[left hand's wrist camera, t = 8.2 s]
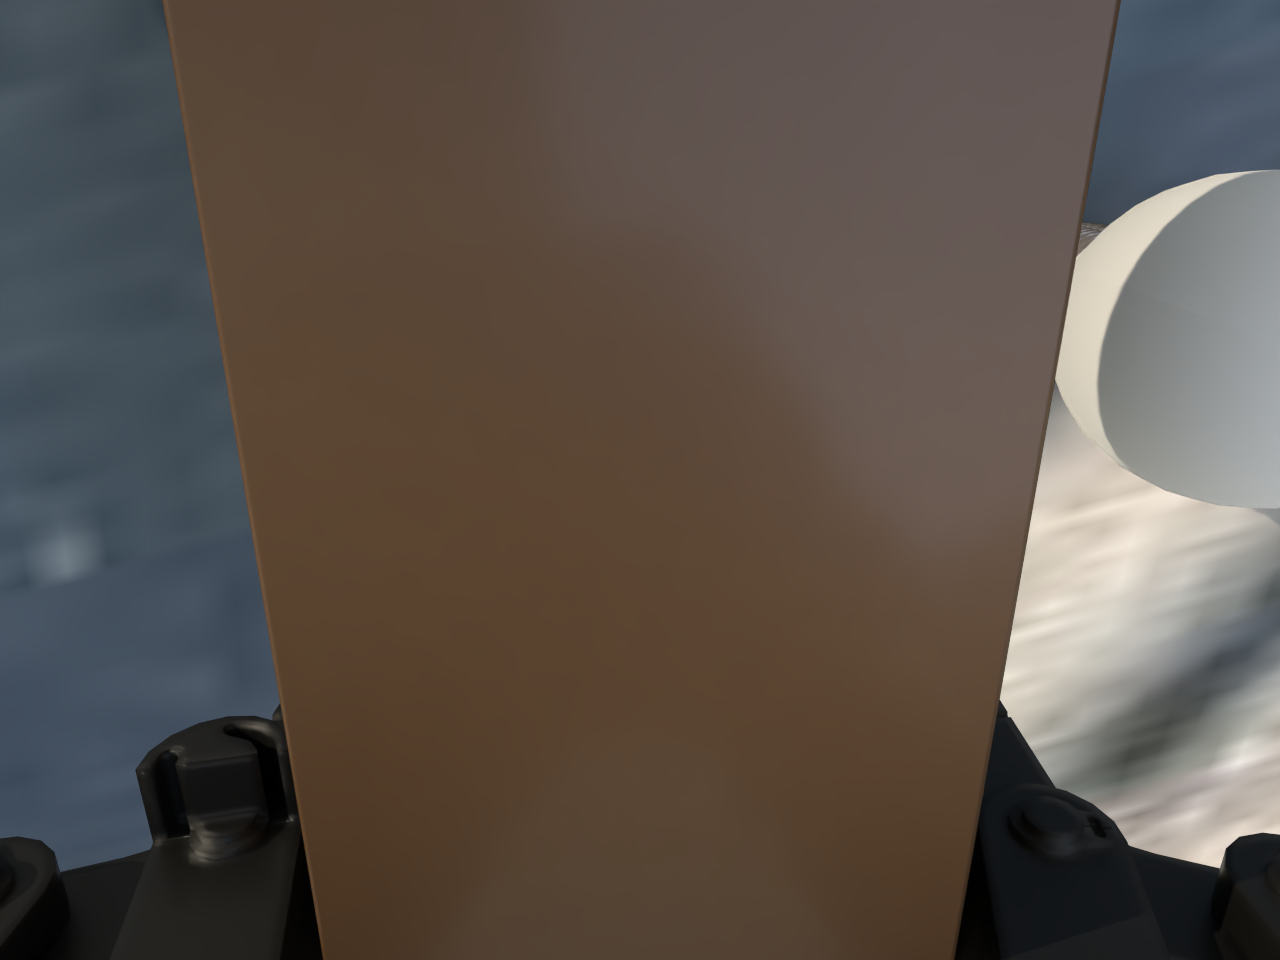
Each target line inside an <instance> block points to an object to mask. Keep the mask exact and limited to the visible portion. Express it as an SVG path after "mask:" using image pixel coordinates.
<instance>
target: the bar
mask: <svg viewBox="0 0 1280 960" xmlns="http://www.w3.org/2000/svg"><path fill="white" fill-rule="evenodd" d="M162 1H163V7H164V13H165V19H166V25H167V31H168V37H169V43H170V49H171V54H172V60H173V66H174V72H175V78H176V84H177V90H178V96H179V102H180V108H181V114H182V120H183V126H184V132H185V138H186V144H187V150H188V156H189V162H190V168H191V174H192V180H193V186H194V192H195V197H196V203H197V209H198V215H199V221H200V227H201V233H202V239H203V245H204V251H205V257H206V263H207V269H208V275H209V281H210V287H211V293H212V299H213V305H214V311H215V317H216V323H217V329H218V334H219V340H220V346H221V352H222V358H223V364H224V370H225V376H226V382H227V388H228V394H229V400H230V406H231V412H232V418H233V424H234V430H235V436H236V442H237V448H238V454H239V460H240V466H241V472H242V477H243V483H244V489H245V495H246V501H247V507H248V513H249V519H250V525H251V531H252V537H253V543H254V549H255V555H256V561H257V567H258V573H259V579H260V585H261V591H262V597H263V603H264V609H265V615H266V620H267V626H268V632H269V638H270V644H271V650H272V656H273V662H274V668H275V674H276V680H277V686H278V692H279V698H280V704H281V710H282V716H283V722H284V728H285V734H286V740H287V746H288V752H289V758H290V763H291V769H292V775H293V781H294V787H295V793H296V799H297V805H298V811H299V817H300V823H301V829H302V835H303V841H304V847H305V853H306V859H307V865H308V871H309V877H310V883H311V889H312V895H313V900H314V906H315V912H316V918H317V924H318V930H319V936H320V942H321V948H322V954H323V960H954V958H955V952H956V947H957V941H958V935H959V929H960V924H961V918H962V912H963V906H964V901H965V895H966V889H967V883H968V878H969V872H970V866H971V860H972V855H973V849H974V843H975V837H976V832H977V826H978V820H979V814H980V809H981V803H982V797H983V791H984V786H985V780H986V774H987V768H988V763H989V757H990V751H991V745H992V740H993V734H994V728H995V722H996V717H997V711H998V705H999V699H1000V694H1001V688H1002V682H1003V676H1004V671H1005V665H1006V659H1007V653H1008V648H1009V642H1010V636H1011V630H1012V625H1013V619H1014V613H1015V607H1016V601H1017V596H1018V590H1019V584H1020V578H1021V573H1022V567H1023V561H1024V555H1025V550H1026V544H1027V538H1028V532H1029V527H1030V521H1031V515H1032V509H1033V504H1034V498H1035V492H1036V486H1037V481H1038V475H1039V469H1040V463H1041V458H1042V452H1043V446H1044V440H1045V435H1046V429H1047V423H1048V417H1049V412H1050V406H1051V400H1052V394H1053V389H1054V383H1055V377H1056V371H1057V366H1058V360H1059V354H1060V348H1061V343H1062V337H1063V331H1064V325H1065V320H1066V314H1067V308H1068V302H1069V297H1070V291H1071V285H1072V279H1073V274H1074V268H1075V262H1076V256H1077V250H1078V245H1079V239H1080V233H1081V227H1082V222H1083V216H1084V210H1085V204H1086V199H1087V193H1088V187H1089V181H1090V176H1091V170H1092V164H1093V158H1094V153H1095V147H1096V141H1097V135H1098V130H1099V124H1100V118H1101V112H1102V107H1103V101H1104V95H1105V89H1106V84H1107V78H1108V72H1109V66H1110V61H1111V55H1112V49H1113V43H1114V38H1115V32H1116V26H1117V20H1118V15H1119V9H1120V3H1121V0H162Z"/></svg>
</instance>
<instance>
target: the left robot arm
mask: <svg viewBox="0 0 1280 960" xmlns="http://www.w3.org/2000/svg"><path fill="white" fill-rule="evenodd" d="M135 771H136V775H137V779H138V783H139V787H140V791H141V795H142V799H143V803H144V807H145V811H146V815H147V819H148V823H149V827H150V831H151V835H152V839H153V844H152V847H151V849H150V850H148V851H144V852H141V853H138V854H134V855H131V856H128V857H124V858H120V859H116V860H111V861H107V862H103V863H98V864H94V865H89V866H85V867H81V868H76V869H72V870H68V871H63V872H60V869H59V866H58V863H57V859H56V856H55V853H54V852H53V851H52V850H51V849H50V848H49V847H48V846H47V845H45V844H44V843H43V842H42V841H40V840H35V839H29V838H23V837H10V838H2V839H0V960H323V954H322V948H321V942H320V936H319V930H318V924H317V918H316V912H315V906H314V900H313V895H312V889H311V883H310V877H309V871H308V865H307V859H306V853H305V847H304V841H303V835H302V829H301V823H300V817H299V811H298V805H297V799H296V793H295V787H294V781H293V775H292V769H291V763H290V758H289V752H288V746H287V740H286V734H285V728H284V722H283V716H282V710H281V704H279V706H278V707H277V709H276V710H275V712H274V714H273V719H272V720H268V719H264V718H261V717H257V716H228V717H223V718H219V719H215V720H210V721H206V722H202V723H198V724H196V725H194V726H191V727H189V728H187V729H185V730H182V731H180V732H178V733H175V734H173V735H171V736H170V737H168V738H167V739H166V740H164V741H163V742H162V743H160V744H159V745H157V746H156V747H155V748H153V749H152V750H150V751H149V752H148V754H147V755H146V756H145V758H144V759H143V760H142V762H141V763H140V764H139V766H138V767H137V768H136V770H135ZM954 960H1280V835H1277V834H1269V833H1258V834H1253V835H1247V836H1241V837H1239V838H1237V839H1236V840H1235V841H1234V842H1233V843H1232V844H1231V845H1229V846H1228V847H1227V848H1226V851H1225V854H1224V857H1223V861H1222V864H1221V867H1220V868H1215V867H1211V866H1207V865H1202V864H1198V863H1193V862H1189V861H1185V860H1180V859H1176V858H1172V857H1167V856H1163V855H1158V854H1154V853H1151V852H1148V851H1144V850H1141V849H1138V848H1134V847H1131V846H1129V845H1128V843H1127V841H1126V839H1125V838H1124V836H1123V835H1122V833H1121V831H1120V830H1119V828H1118V827H1117V825H1116V824H1115V822H1114V821H1113V820H1112V819H1110V818H1109V817H1108V816H1107V815H1106V814H1104V813H1103V812H1102V811H1101V810H1099V809H1098V808H1097V807H1096V806H1095V805H1093V804H1092V803H1090V802H1088V801H1086V800H1084V799H1082V798H1080V797H1078V796H1076V795H1074V794H1072V793H1069V792H1067V791H1065V790H1061V789H1057V788H1055V786H1054V784H1053V783H1052V781H1051V780H1050V778H1049V777H1048V775H1047V773H1046V772H1045V770H1044V769H1043V767H1042V766H1041V764H1040V762H1039V761H1038V759H1037V758H1036V756H1035V755H1034V753H1033V751H1032V750H1031V748H1030V747H1029V745H1028V744H1027V742H1026V740H1025V739H1024V737H1023V736H1022V734H1021V733H1020V731H1019V729H1018V728H1017V726H1016V725H1015V723H1014V722H1013V720H1012V718H1011V717H1008V715H1007V711H1006V709H1005V707H1004V706H1003V704H1002V703H1001V701H1000V700H999V705H998V711H997V717H996V722H995V728H994V734H993V740H992V745H991V751H990V757H989V763H988V768H987V774H986V780H985V786H984V791H983V797H982V803H981V809H980V814H979V820H978V826H977V832H976V837H975V843H974V849H973V855H972V860H971V866H970V872H969V878H968V883H967V889H966V895H965V901H964V906H963V912H962V918H961V924H960V929H959V935H958V941H957V947H956V952H955V958H954Z"/></svg>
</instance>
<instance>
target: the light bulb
mask: <svg viewBox="0 0 1280 960" xmlns="http://www.w3.org/2000/svg"><path fill="white" fill-rule="evenodd" d="M1055 380H1056V383H1057V385H1058V388H1059V390H1060V393H1061V396H1062V398H1063V400H1064V402H1065V404H1066V406H1067V408H1068V409H1069V411H1070V413H1071V414H1072V416H1073V417H1074V419H1075V420H1076V422H1077V423H1078V425H1079V426H1080V428H1081V429H1082V431H1083V432H1084V434H1085V435H1086V436H1087V437H1089V438H1090V439H1091V440H1092V441H1093V442H1094V443H1095V444H1096V445H1097V446H1098V447H1099V448H1101V449H1102V450H1103V451H1104V452H1105V453H1106V454H1107V455H1108V456H1109V457H1110V458H1112V459H1113V460H1114V461H1115V462H1116V463H1117V464H1118V465H1119V466H1121V467H1123V468H1124V469H1126V470H1128V471H1130V472H1131V473H1133V474H1135V475H1137V476H1139V477H1140V478H1142V479H1144V480H1146V481H1148V482H1150V483H1152V484H1154V485H1156V486H1158V487H1160V488H1161V489H1163V490H1165V491H1168V492H1172V493H1175V494H1178V495H1182V496H1185V497H1188V498H1192V499H1195V500H1200V501H1204V502H1208V503H1212V504H1216V505H1220V506H1231V507H1242V508H1280V170H1263V171H1248V172H1238V173H1229V174H1219V175H1213V176H1210V177H1207V178H1204V179H1200V180H1197V181H1194V182H1190V183H1187V184H1184V185H1181V186H1178V187H1175V188H1172V189H1169V190H1166V191H1163V192H1161V193H1159V194H1157V195H1155V196H1153V197H1151V198H1149V199H1147V200H1145V201H1143V202H1141V203H1139V204H1137V205H1136V206H1134V207H1133V208H1132V209H1130V210H1129V211H1127V212H1126V213H1125V214H1123V215H1122V216H1121V217H1119V218H1118V219H1117V220H1115V221H1114V222H1113V223H1111V224H1110V225H1109V226H1108V225H1102V224H1095V223H1082V227H1081V233H1080V239H1079V245H1078V250H1077V256H1076V262H1075V268H1074V274H1073V279H1072V285H1071V291H1070V297H1069V302H1068V308H1067V314H1066V320H1065V325H1064V331H1063V337H1062V343H1061V348H1060V354H1059V360H1058V366H1057V371H1056V377H1055Z"/></svg>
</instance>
